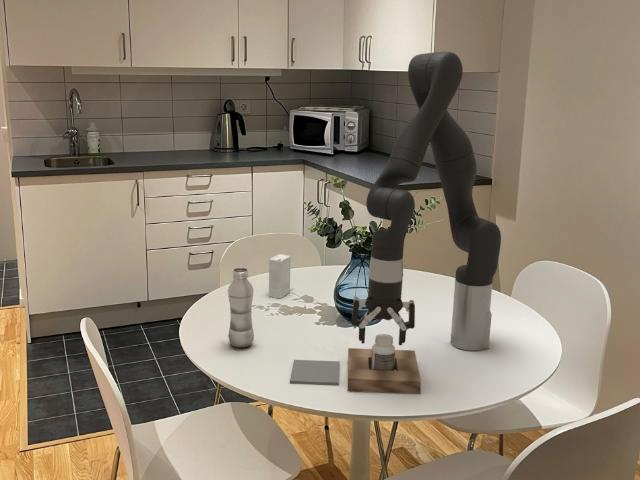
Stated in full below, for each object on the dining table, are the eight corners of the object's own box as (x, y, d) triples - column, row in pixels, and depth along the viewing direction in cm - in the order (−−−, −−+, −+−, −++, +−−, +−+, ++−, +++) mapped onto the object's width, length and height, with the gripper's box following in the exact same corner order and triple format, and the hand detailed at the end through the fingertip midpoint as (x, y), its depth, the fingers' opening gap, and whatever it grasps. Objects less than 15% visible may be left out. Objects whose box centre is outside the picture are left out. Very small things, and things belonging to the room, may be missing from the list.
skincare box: (278, 290, 218) (278, 253, 215) (290, 293, 216) (291, 255, 213) (267, 296, 213) (267, 258, 209) (280, 299, 211) (280, 260, 208)
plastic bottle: (254, 339, 182) (254, 265, 177) (253, 350, 176) (252, 274, 170) (229, 339, 182) (228, 265, 177) (227, 350, 176) (225, 274, 170)
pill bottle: (398, 377, 164) (400, 338, 161) (380, 383, 161) (382, 343, 158) (384, 368, 168) (386, 330, 165) (366, 374, 165) (367, 335, 162)
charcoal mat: (339, 363, 170) (339, 361, 170) (338, 385, 159) (338, 382, 159) (293, 361, 170) (293, 359, 170) (289, 383, 160) (290, 380, 160)
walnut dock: (414, 361, 172) (414, 350, 171) (420, 393, 156) (420, 381, 155) (347, 359, 172) (348, 348, 171) (347, 390, 157) (347, 378, 156)
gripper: (416, 272, 161) (411, 338, 165) (354, 269, 162) (350, 335, 166) (419, 283, 154) (413, 351, 158) (353, 279, 155) (350, 348, 159)
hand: (381, 343), depth 162 cm, fingers open, 8 cm apart
